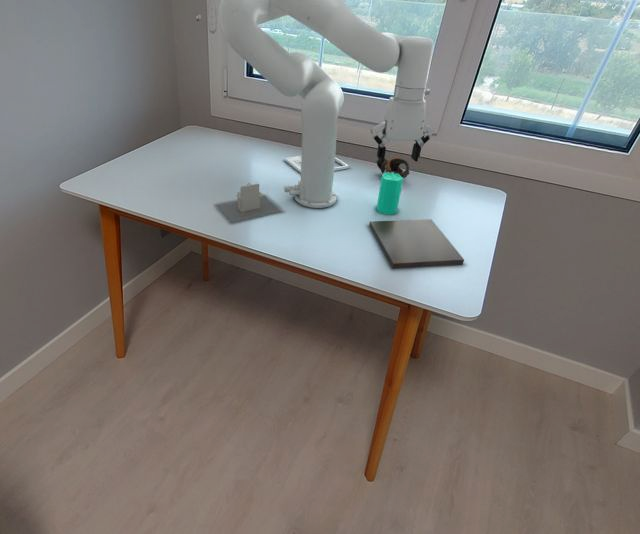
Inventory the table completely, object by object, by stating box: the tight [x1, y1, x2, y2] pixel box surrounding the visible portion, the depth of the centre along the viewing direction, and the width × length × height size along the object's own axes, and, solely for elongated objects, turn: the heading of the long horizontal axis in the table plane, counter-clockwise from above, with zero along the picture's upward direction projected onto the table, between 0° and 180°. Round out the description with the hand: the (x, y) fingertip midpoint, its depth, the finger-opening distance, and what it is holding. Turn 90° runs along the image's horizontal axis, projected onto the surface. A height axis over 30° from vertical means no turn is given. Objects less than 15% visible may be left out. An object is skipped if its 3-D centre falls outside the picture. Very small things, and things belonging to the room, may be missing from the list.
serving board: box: [368, 218, 465, 270], centre depth 104 cm, size 18×20×2 cm
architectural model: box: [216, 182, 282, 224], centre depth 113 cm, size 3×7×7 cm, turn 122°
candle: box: [376, 171, 404, 215], centre depth 116 cm, size 6×6×12 cm
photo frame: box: [284, 155, 350, 174], centre depth 144 cm, size 15×1×18 cm
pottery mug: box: [376, 156, 410, 180], centre depth 138 cm, size 12×10×8 cm
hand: (397, 159), depth 111 cm, fingers open, 9 cm apart
